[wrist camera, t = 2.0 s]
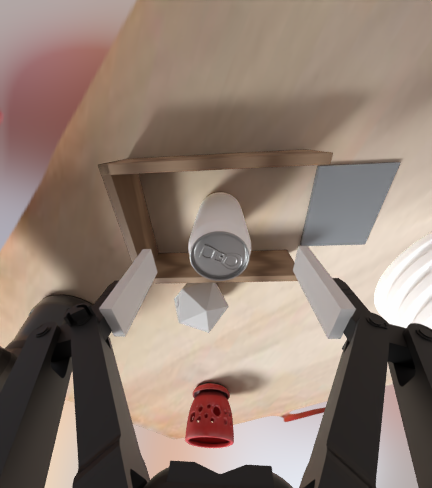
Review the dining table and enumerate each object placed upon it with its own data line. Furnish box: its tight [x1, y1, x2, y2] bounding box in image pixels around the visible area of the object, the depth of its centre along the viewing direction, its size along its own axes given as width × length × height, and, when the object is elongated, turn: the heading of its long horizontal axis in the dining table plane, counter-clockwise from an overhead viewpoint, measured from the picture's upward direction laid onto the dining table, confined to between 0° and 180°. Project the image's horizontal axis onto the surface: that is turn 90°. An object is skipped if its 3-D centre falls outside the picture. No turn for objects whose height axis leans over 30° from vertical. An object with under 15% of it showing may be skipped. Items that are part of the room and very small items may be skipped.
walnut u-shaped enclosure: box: [98, 150, 333, 284], centre depth 24 cm, size 23×16×6 cm
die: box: [174, 282, 229, 333], centre depth 31 cm, size 8×9×10 cm
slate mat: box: [300, 162, 401, 246], centre depth 26 cm, size 10×12×1 cm
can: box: [188, 192, 251, 281], centre depth 22 cm, size 6×6×12 cm
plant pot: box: [185, 383, 234, 448], centre depth 52 cm, size 13×13×12 cm
